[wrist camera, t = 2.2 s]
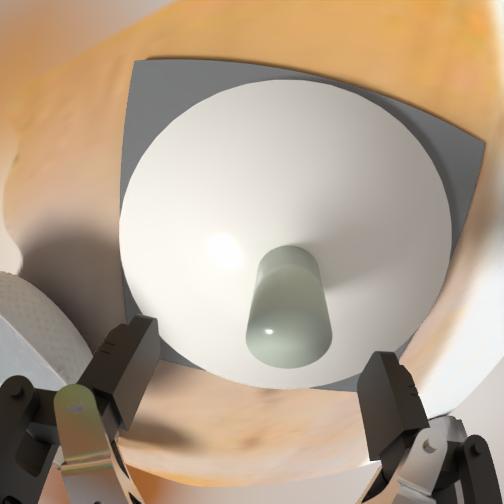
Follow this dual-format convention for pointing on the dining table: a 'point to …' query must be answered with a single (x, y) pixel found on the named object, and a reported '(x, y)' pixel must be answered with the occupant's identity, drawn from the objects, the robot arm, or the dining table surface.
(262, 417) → the dining table surface
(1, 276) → the cereal bowl
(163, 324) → the lid
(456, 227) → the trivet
